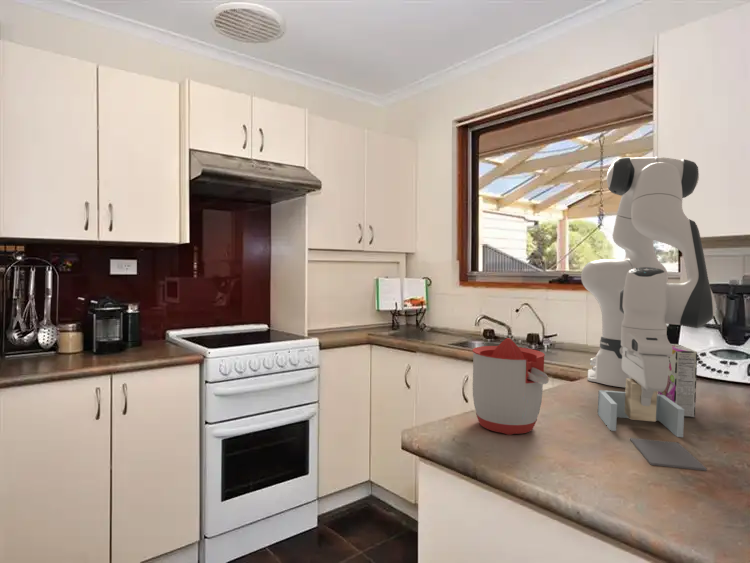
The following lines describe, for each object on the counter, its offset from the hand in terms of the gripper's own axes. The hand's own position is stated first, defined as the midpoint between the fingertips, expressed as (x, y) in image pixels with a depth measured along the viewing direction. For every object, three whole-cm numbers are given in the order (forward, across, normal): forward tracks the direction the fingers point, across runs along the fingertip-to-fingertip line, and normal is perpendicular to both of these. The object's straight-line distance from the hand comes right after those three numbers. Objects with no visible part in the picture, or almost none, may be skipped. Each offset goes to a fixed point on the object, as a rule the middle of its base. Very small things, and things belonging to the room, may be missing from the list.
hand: (640, 400), depth 106 cm
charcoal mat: (+6, +15, 0) cm, 17 cm away
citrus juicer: (+6, +8, -29) cm, 31 cm away
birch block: (+4, 0, 0) cm, 4 cm away
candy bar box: (+7, -18, +13) cm, 23 cm away
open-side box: (+6, -2, 0) cm, 7 cm away
